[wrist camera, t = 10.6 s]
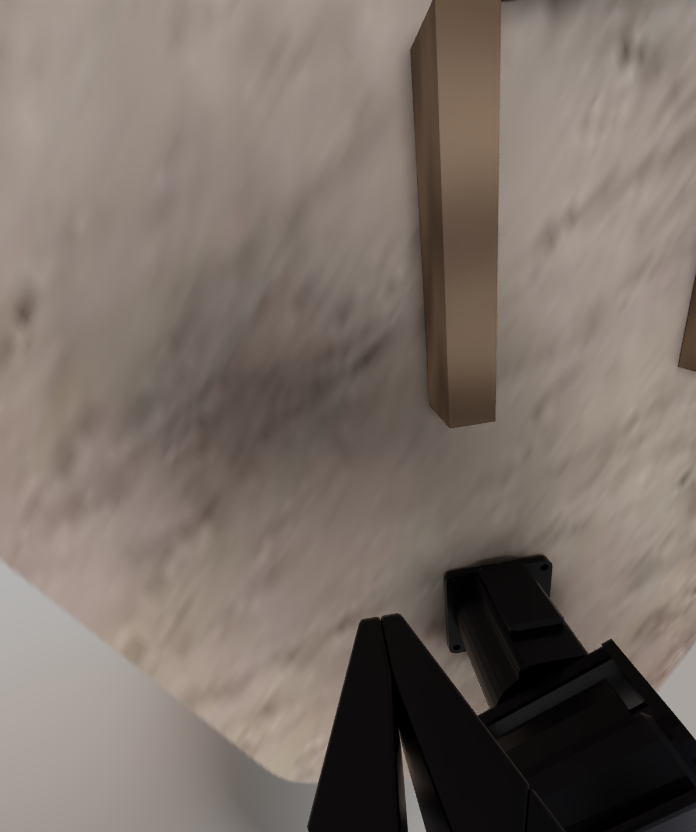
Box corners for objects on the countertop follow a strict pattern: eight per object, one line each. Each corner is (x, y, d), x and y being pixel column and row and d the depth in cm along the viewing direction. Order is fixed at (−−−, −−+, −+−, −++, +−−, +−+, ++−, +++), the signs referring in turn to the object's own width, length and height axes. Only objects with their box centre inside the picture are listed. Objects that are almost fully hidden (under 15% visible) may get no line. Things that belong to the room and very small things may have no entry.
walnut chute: (715, 361, 20) (782, 376, 17) (429, 405, 19) (449, 428, 16) (797, 2, 15) (912, -60, 12) (410, 49, 14) (435, -5, 11)
